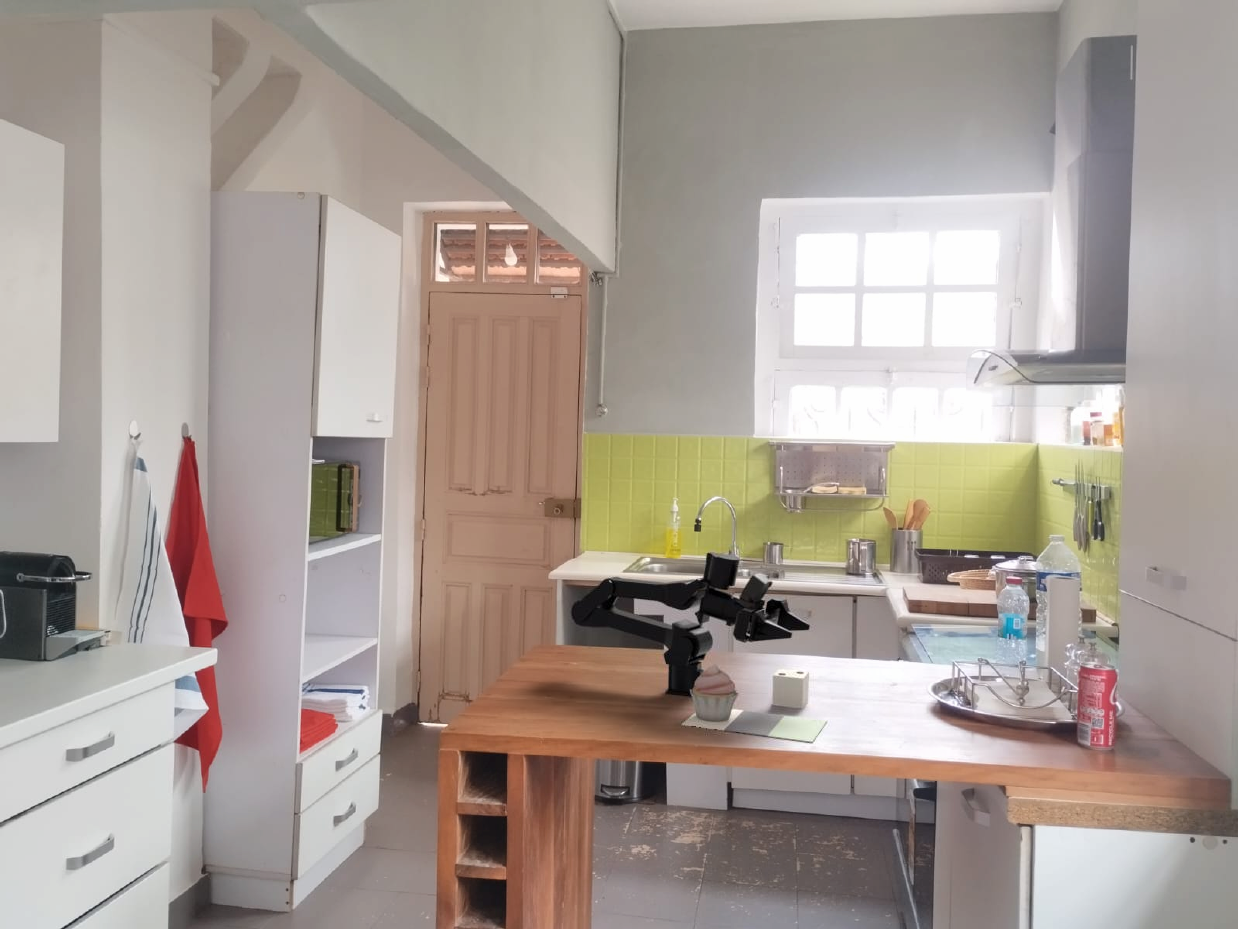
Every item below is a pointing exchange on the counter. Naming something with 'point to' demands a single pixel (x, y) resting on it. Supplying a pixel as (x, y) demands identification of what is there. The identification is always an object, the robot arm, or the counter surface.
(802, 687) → the white cube
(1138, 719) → the counter surface
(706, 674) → the cupcake
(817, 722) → the game board
